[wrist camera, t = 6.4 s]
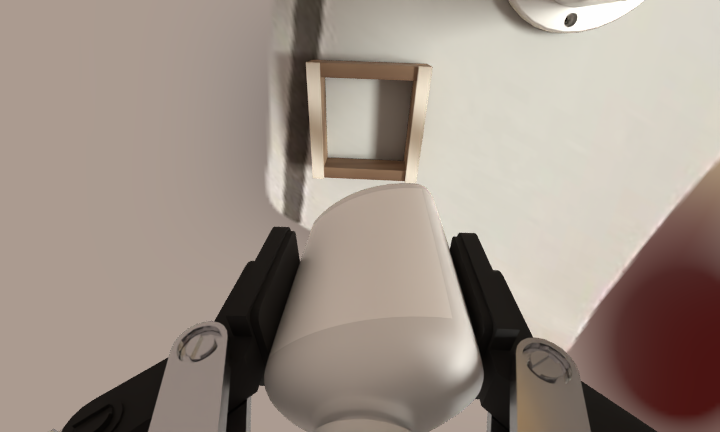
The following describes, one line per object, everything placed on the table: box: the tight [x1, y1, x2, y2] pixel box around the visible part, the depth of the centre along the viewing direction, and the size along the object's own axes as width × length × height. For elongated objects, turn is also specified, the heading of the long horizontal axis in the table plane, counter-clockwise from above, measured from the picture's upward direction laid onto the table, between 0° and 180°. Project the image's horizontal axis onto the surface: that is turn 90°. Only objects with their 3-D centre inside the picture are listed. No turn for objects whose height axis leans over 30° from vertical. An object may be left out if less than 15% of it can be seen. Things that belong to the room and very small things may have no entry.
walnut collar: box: [306, 60, 433, 183], centre depth 26 cm, size 10×10×3 cm
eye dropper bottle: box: [264, 183, 484, 432], centre depth 8 cm, size 4×6×12 cm
